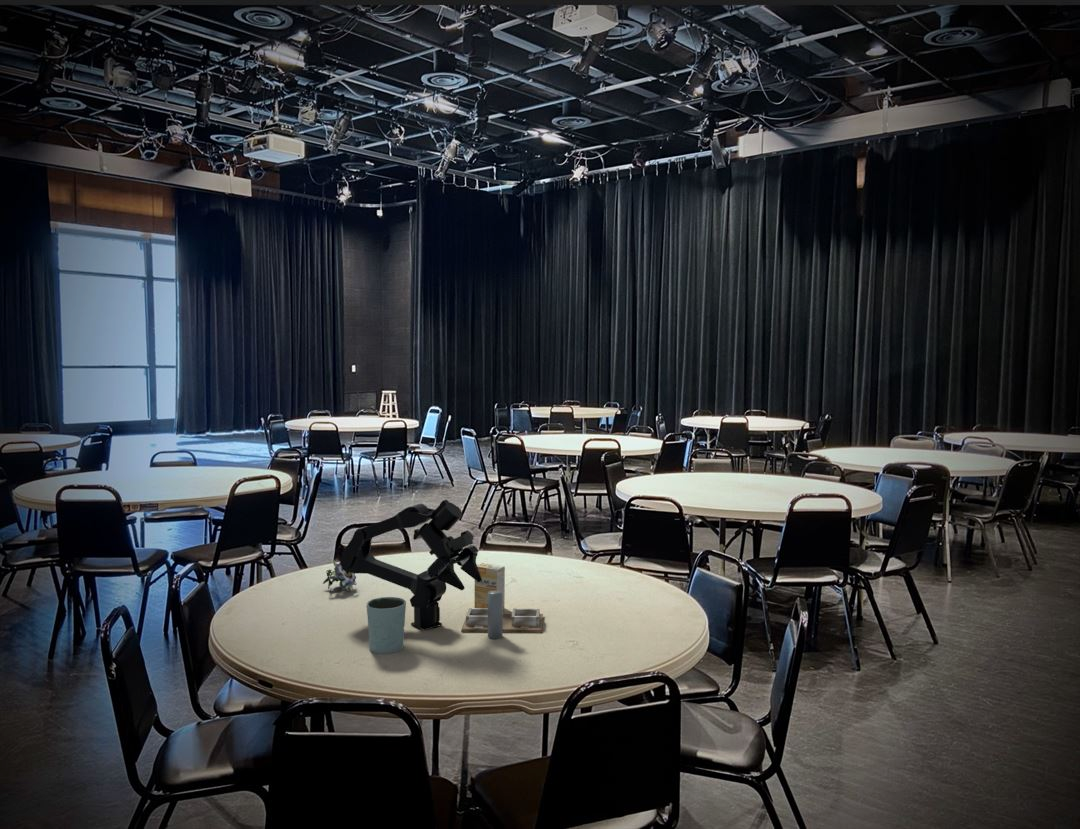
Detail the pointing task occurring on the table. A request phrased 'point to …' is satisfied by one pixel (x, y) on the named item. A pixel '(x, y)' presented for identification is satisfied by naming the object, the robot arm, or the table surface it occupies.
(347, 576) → the passion flower
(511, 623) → the socket board
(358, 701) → the table surface
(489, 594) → the plug
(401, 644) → the light blue cup
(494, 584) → the supplement box
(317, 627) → the table surface
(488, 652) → the table surface
